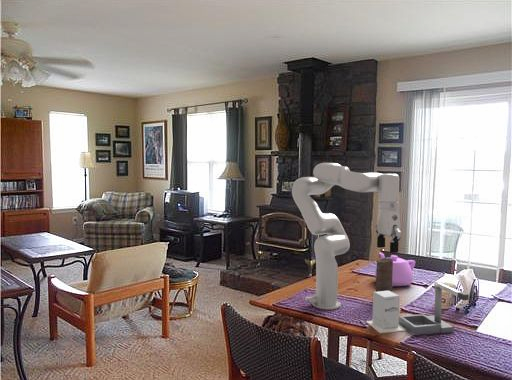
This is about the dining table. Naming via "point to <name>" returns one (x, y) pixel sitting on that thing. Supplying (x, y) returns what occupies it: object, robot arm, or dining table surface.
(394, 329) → the tile pad
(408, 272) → the kettle
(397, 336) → the dining table surface
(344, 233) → the robot arm
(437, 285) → the bar
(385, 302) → the supplement box
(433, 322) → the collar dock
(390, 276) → the brown rectangular block
